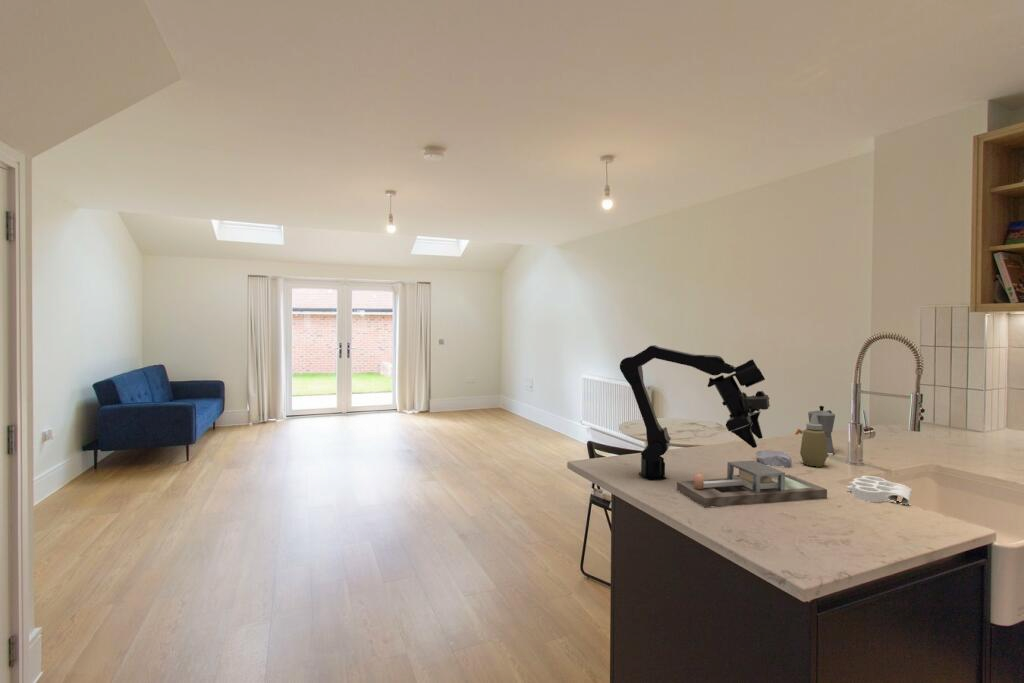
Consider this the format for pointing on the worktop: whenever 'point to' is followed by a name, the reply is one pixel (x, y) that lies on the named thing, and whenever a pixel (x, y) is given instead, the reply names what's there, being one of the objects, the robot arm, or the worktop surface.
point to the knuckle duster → (879, 490)
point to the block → (749, 477)
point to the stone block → (774, 458)
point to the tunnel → (756, 473)
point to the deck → (752, 493)
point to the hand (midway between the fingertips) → (758, 442)
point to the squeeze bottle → (813, 444)
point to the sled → (729, 483)
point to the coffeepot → (825, 425)
